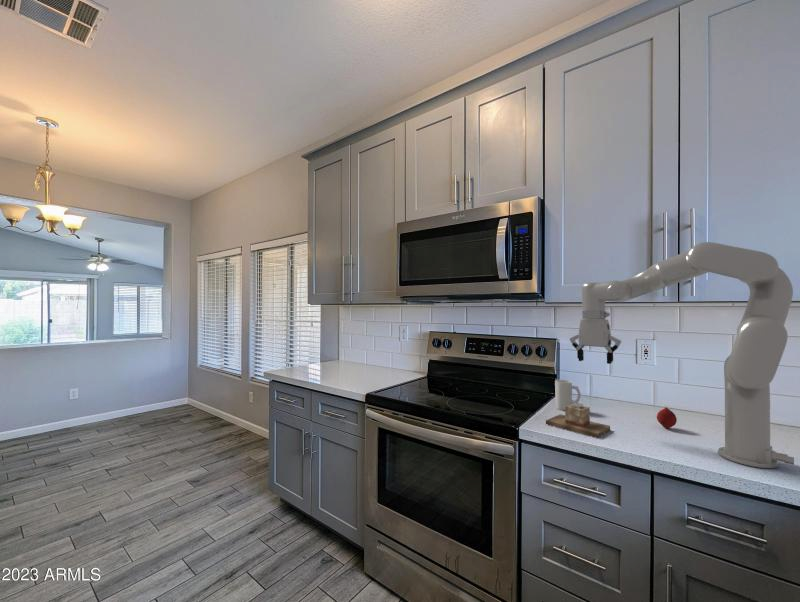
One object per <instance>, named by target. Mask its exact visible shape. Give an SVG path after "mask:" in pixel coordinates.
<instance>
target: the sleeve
mask: <svg viewBox="0 0 800 602" xmlns="http://www.w3.org/2000/svg"><path fill="white" fill-rule="evenodd" d="M590 411H591V408H590V406H585V405H583V408H582V409H578V408H574V407H571V404H570V405H568V406H566V407H565V411H564V412H565V423H568V424H572V425H576V426H580V427H584V426H586V425H588V424H590V419H591V417H590V414H591V413H590Z"/></svg>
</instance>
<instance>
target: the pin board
mask: <svg viewBox="0 0 800 602" xmlns="http://www.w3.org/2000/svg"><path fill="white" fill-rule="evenodd" d="M546 424H548V425H547V426H550V425H551V426H550V427H553V426H555V427H554V428H557V427H558V429H561V428H562V429H561V430H565V429H566V430H565V431H568V430H569V432H572V431H573V432H572V433H576V432H577V434H580V435H584V436H588V437H591V436H592V437H591V438H595V437H596V438H595V439H599V438H600V437H602V436H603V435H605V434H606V433H608V432H609V430H611V425H609V424H608V425H607V424H604V423H599V422H595V421H590V424H588V425H586V426H584V427H580V426H576V425H572V424H568V423H565V415H564V414H561V413H560V414H558V415H554V416H553V417H550V418H549V419H547V420H546V419H545V425H546ZM607 431H608V432H607ZM604 433H605V434H604ZM601 435H602V436H601ZM598 437H599V438H598Z"/></svg>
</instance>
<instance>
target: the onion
mask: <svg viewBox="0 0 800 602" xmlns="http://www.w3.org/2000/svg"><path fill="white" fill-rule="evenodd" d="M656 419H657V422H658V423H659V424H660V425H661V426H662V427H663V428H664V429H666V430H667V429H670V428H672V427H674V426H675V425H676V424H677V421H678V418H677V415H676V414H675V413H674V412H673V411H672V410H670V409H669V407H667V406H664V407H663V409H660V410H659V411H658V413H657V414H656Z"/></svg>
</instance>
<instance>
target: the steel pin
mask: <svg viewBox="0 0 800 602" xmlns="http://www.w3.org/2000/svg"><path fill="white" fill-rule="evenodd" d="M583 406H584V404H583V403H579V402H578V403H573V404H571V407H574V408H578V409H582V408H583Z"/></svg>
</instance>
